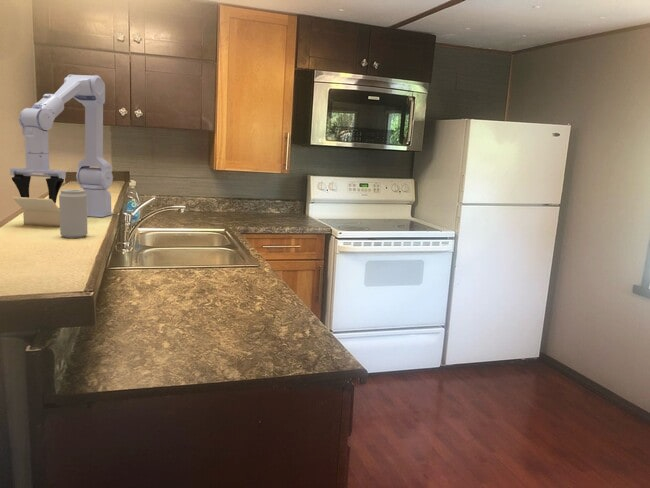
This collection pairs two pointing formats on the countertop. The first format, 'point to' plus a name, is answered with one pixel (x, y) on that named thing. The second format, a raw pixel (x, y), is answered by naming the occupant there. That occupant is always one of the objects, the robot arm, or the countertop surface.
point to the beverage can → (73, 213)
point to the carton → (41, 218)
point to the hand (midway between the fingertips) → (39, 202)
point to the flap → (37, 204)
